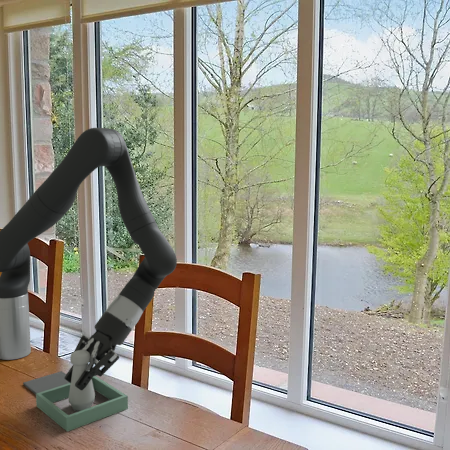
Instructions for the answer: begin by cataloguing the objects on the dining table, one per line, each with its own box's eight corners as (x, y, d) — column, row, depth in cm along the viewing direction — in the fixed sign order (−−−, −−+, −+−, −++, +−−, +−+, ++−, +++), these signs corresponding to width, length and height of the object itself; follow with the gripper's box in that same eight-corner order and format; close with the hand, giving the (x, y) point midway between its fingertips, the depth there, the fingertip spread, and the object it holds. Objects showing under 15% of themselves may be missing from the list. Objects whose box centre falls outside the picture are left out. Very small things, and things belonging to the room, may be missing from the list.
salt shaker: (63, 410, 122) (60, 354, 120) (81, 399, 127) (79, 345, 125) (83, 416, 119) (81, 359, 117) (100, 405, 124) (99, 350, 122)
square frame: (36, 406, 123) (35, 393, 123) (94, 387, 133) (94, 375, 133) (67, 431, 113) (66, 417, 112) (128, 408, 123) (127, 395, 122)
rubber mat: (23, 384, 134) (23, 382, 134) (61, 373, 141) (61, 371, 141) (41, 399, 127) (41, 396, 127) (80, 386, 134) (80, 383, 134)
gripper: (93, 304, 130) (46, 366, 124) (126, 318, 120) (77, 387, 113) (113, 320, 134) (69, 382, 128) (146, 336, 124) (100, 403, 118)
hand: (73, 384), depth 121 cm, fingers open, 4 cm apart
